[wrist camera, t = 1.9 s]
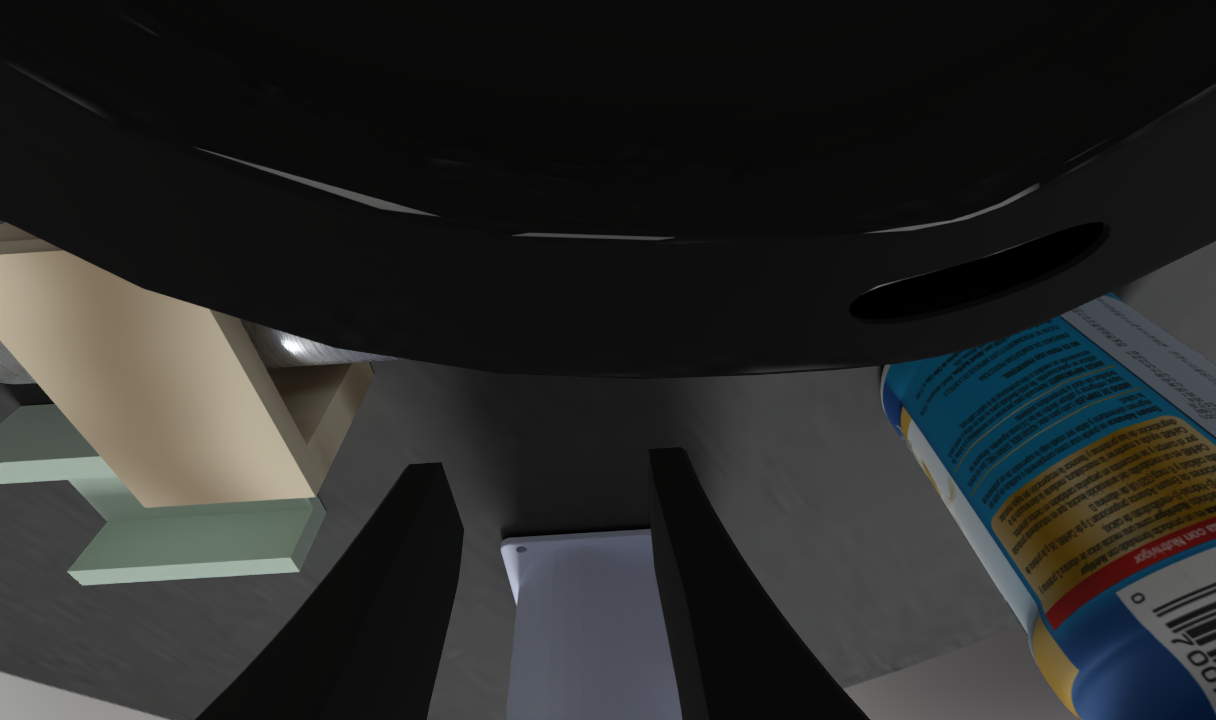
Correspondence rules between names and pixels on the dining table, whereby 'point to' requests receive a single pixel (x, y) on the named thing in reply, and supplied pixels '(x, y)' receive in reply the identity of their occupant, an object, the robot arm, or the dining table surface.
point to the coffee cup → (617, 169)
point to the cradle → (154, 514)
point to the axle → (267, 342)
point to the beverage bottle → (1084, 498)
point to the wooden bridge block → (170, 384)
